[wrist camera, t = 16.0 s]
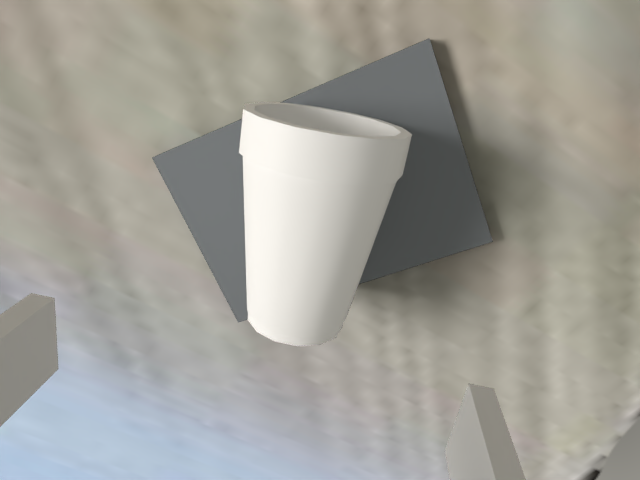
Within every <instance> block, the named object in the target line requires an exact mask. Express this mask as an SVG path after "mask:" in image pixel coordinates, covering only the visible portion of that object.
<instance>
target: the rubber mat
mask: <svg viewBox="0 0 640 480" xmlns="http://www.w3.org/2000/svg"><path fill="white" fill-rule="evenodd" d="M280 103H291V104H299V105H307V106H316V107H322V108H328V109H333V110H339V111H344V112H350V113H354V114H358V115H362V116H366V117H371V118H375V119H379V120H382V121H385V122H388V123H391V124H394V125H397V126H400V127H402V128H404V129H405V130H407V131H408V132H410V133H411V134H412V137H411V141H410V145H409V150H408V154H407V158H406V162H405V167H404V171H403V175H402V176H401V177H400V178H399V179H398V180H397V182H396V184H395V187H394V190H393V192H392V195H391V198H390V200H389V203H388V206H387V209H386V211H385V214H384V217H383V219H382V222H381V225H380V227H379V230H378V233H377V236H376V238H375V241H374V244H373V246H372V249H371V252H370V254H369V257H368V260H367V263H366V265H365V268H364V271H363V273H362V276H361V279H360V282H359V284H361V283H364V282H367V281H370V280H373V279H377V278H380V277H383V276H386V275H389V274H392V273H395V272H399V271H402V270H405V269H408V268H411V267H414V266H418V265H421V264H424V263H427V262H430V261H433V260H436V259H440V258H443V257H446V256H449V255H452V254H455V253H458V252H462V251H465V250H468V249H471V248H474V247H477V246H481V245H484V244H487V243H490V242H493V241H492V238H491V235H490V231H489V228H488V225H487V222H486V219H485V215H484V212H483V209H482V206H481V202H480V199H479V196H478V193H477V190H476V186H475V183H474V180H473V177H472V174H471V170H470V167H469V164H468V161H467V157H466V154H465V151H464V148H463V145H462V141H461V138H460V135H459V132H458V129H457V125H456V122H455V119H454V116H453V112H452V109H451V106H450V103H449V100H448V96H447V93H446V90H445V87H444V83H443V80H442V77H441V74H440V71H439V67H438V64H437V61H436V58H435V55H434V51H433V48H432V45H431V42H430V38H429V39H426V40H424V41H422V42H420V43H417V44H415V45H413V46H410V47H408V48H406V49H403V50H401V51H399V52H396V53H394V54H392V55H389V56H387V57H385V58H382V59H380V60H378V61H375V62H373V63H371V64H368V65H366V66H364V67H361V68H359V69H357V70H354V71H352V72H350V73H347V74H345V75H343V76H341V77H338V78H336V79H334V80H331V81H329V82H327V83H324V84H322V85H320V86H317V87H315V88H313V89H310V90H308V91H306V92H303V93H301V94H299V95H296V96H294V97H292V98H289V99H287V100H285V101H282V102H280ZM241 127H242V119H241V120H238V121H236V122H234V123H231V124H229V125H227V126H224V127H222V128H220V129H217V130H215V131H213V132H210V133H208V134H206V135H203V136H201V137H199V138H196V139H194V140H192V141H190V142H187V143H185V144H183V145H180V146H178V147H176V148H173V149H171V150H169V151H166V152H164V153H162V154H159V155H157V156H155V157H153V158H152V159H153V161H154V162H155V164H156V166H157V168H158V170H159V172H160V174H161V176H162V178H163V180H164V182H165V183H166V185H167V187H168V189H169V191H170V193H171V195H172V197H173V199H174V201H175V203H176V204H177V206H178V208H179V210H180V212H181V214H182V216H183V218H184V220H185V222H186V224H187V225H188V227H189V229H190V231H191V233H192V235H193V237H194V239H195V241H196V243H197V245H198V246H199V248H200V250H201V252H202V254H203V256H204V258H205V260H206V262H207V264H208V266H209V267H210V269H211V271H212V273H213V275H214V277H215V279H216V281H217V283H218V285H219V287H220V289H221V290H222V292H223V294H224V296H225V298H226V300H227V302H228V304H229V306H230V308H231V310H232V311H233V313H234V315H235V317H236V319H237V321H238V322H241V321H244V320H247V319H248V311H247V290H246V255H245V221H244V186H243V156H242V155H241V154H240V153H239V147H240V137H241Z"/></svg>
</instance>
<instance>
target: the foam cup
mask: <svg viewBox="0 0 640 480" xmlns="http://www.w3.org/2000/svg"><path fill="white" fill-rule="evenodd" d="M411 137H412V134H411V133H410V132H408V131H407V130H405V129H404V128H402V127H400V126H397V125H394V124H391V123H388V122H385V121H382V120H379V119H375V118H371V117H366V116H362V115H358V114H354V113H350V112H344V111H339V110H333V109H328V108H322V107H316V106H307V105H299V104H291V103H276V102H255V103H246V104H245V105H244V108H243V116H242V127H241V137H240V147H239V153H240V154H241V155H242V156H243V186H244V221H245V255H246V290H247V311H248V321H249V322H250V323H251V325H252V326H253V327H254V329H255V330H256V331H257V332H258V333H260V334H262V335H264V336H266V337H268V338H270V339H271V340H273V341H275V342H280V343H285V344H290V345H294V346H309V345H321V344H323V343H325V342H327V341H330V340H332V339H334V338H336V337H337V335H338V333H339V332H340V330H341V329H342V326H343V322H344V321H345V319H346V317H347V314H348V311H349V309H350V306H351V303H352V300H353V298H354V295H355V292H356V290H357V287H358V284H359V282H360V279H361V276H362V273H363V271H364V268H365V265H366V263H367V260H368V257H369V254H370V252H371V249H372V246H373V244H374V241H375V238H376V236H377V233H378V230H379V227H380V225H381V222H382V219H383V217H384V214H385V211H386V209H387V206H388V203H389V200H390V198H391V195H392V192H393V190H394V187H395V184H396V182H397V180H398V179H399V178H400V177H401V176H402V175H403V171H404V167H405V162H406V158H407V154H408V150H409V145H410V141H411Z"/></svg>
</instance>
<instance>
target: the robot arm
mask: <svg viewBox="0 0 640 480" xmlns="http://www.w3.org/2000/svg"><path fill="white" fill-rule="evenodd" d="M57 370H58V354H57V335H56V316H55V298H52V297H47V296H42V295H37V294H32V293H31V294H30V295H28V296H27V297H25V298H24V299H22V300H21V301H19V302H18V303H17V304H15V305H14V306H12V307H11V308H9V309H8V310H7V311H5V312H4V313H2V314H1V315H0V427H1V426H2V425H3V424H4V423H5V422H6V421H7V420H8V419H9V418H10V417H11V416H12V415H13V414H14V413H15V412H16V411H17V410H18V409H19V408H20V407H21V406H22V405H23V404H24V403H25V402H26V401H27V400H28V399H29V398H30V397H31V396H32V395H33V394H34V393H35V392H36V391H37V390H38V389H39V388H40V387H41V386H42V385H43V384H44V383H45V382H46V381H47V380H48V379H49V378H50V377H51V376H52V375H53V374H54V373H55V372H56V371H57ZM445 455H446V461H447V467H448V472H449V478H450V480H526V479H525V476H524V473H523V470H522V467H521V465H520V462H519V459H518V456H517V453H516V450H515V448H514V445H513V442H512V439H511V436H510V433H509V431H508V428H507V425H506V422H505V419H504V416H503V414H502V411H501V408H500V405H499V402H498V399H497V396H496V394H495V391H494V389H493V388H488V387H483V386H479V385H474V384H468V387H467V390H466V392H465V395H464V398H463V401H462V404H461V407H460V409H459V412H458V415H457V418H456V421H455V423H454V426H453V429H452V432H451V435H450V438H449V440H448V443H447V446H446V449H445Z"/></svg>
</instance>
